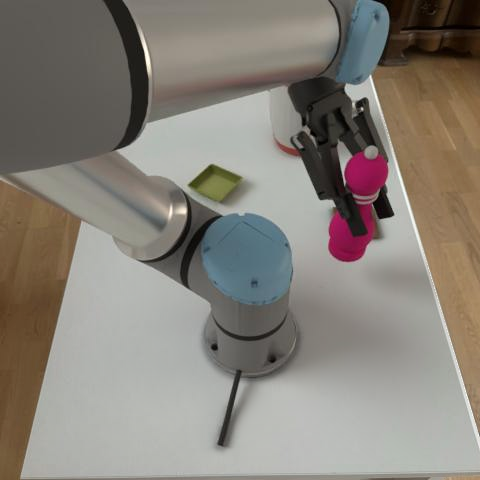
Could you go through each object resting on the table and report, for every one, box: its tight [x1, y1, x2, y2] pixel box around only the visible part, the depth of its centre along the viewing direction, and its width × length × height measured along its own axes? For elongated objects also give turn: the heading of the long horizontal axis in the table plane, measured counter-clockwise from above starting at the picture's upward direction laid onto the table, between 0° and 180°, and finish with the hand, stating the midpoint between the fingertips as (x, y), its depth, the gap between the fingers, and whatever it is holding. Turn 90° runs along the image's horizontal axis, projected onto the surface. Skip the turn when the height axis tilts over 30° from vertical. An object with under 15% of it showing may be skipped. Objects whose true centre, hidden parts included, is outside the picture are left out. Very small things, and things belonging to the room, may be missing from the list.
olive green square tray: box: [187, 163, 243, 203], centre depth 94 cm, size 9×9×2 cm
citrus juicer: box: [267, 84, 317, 157], centre depth 94 cm, size 16×17×20 cm
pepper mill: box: [327, 146, 389, 263], centre depth 67 cm, size 7×7×20 cm
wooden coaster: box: [331, 205, 380, 240], centre depth 87 cm, size 8×8×1 cm
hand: (373, 225), depth 67 cm, fingers closed on pepper mill, 5 cm apart
